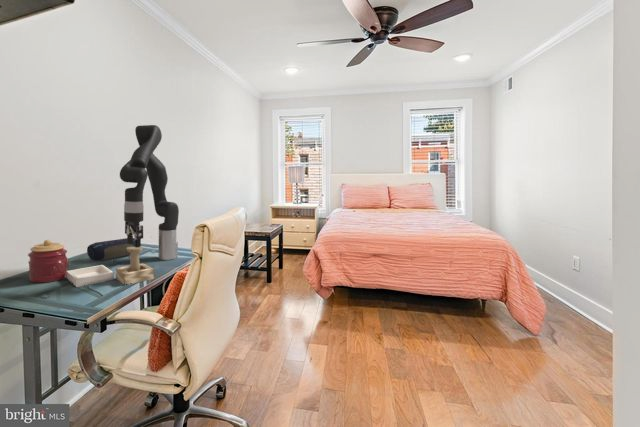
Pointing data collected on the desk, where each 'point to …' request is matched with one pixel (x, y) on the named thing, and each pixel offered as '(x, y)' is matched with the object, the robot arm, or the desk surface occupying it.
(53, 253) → the canister
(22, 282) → the desk surface
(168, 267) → the desk surface
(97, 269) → the tray
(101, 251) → the portable speaker
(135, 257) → the handle
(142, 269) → the socket block
